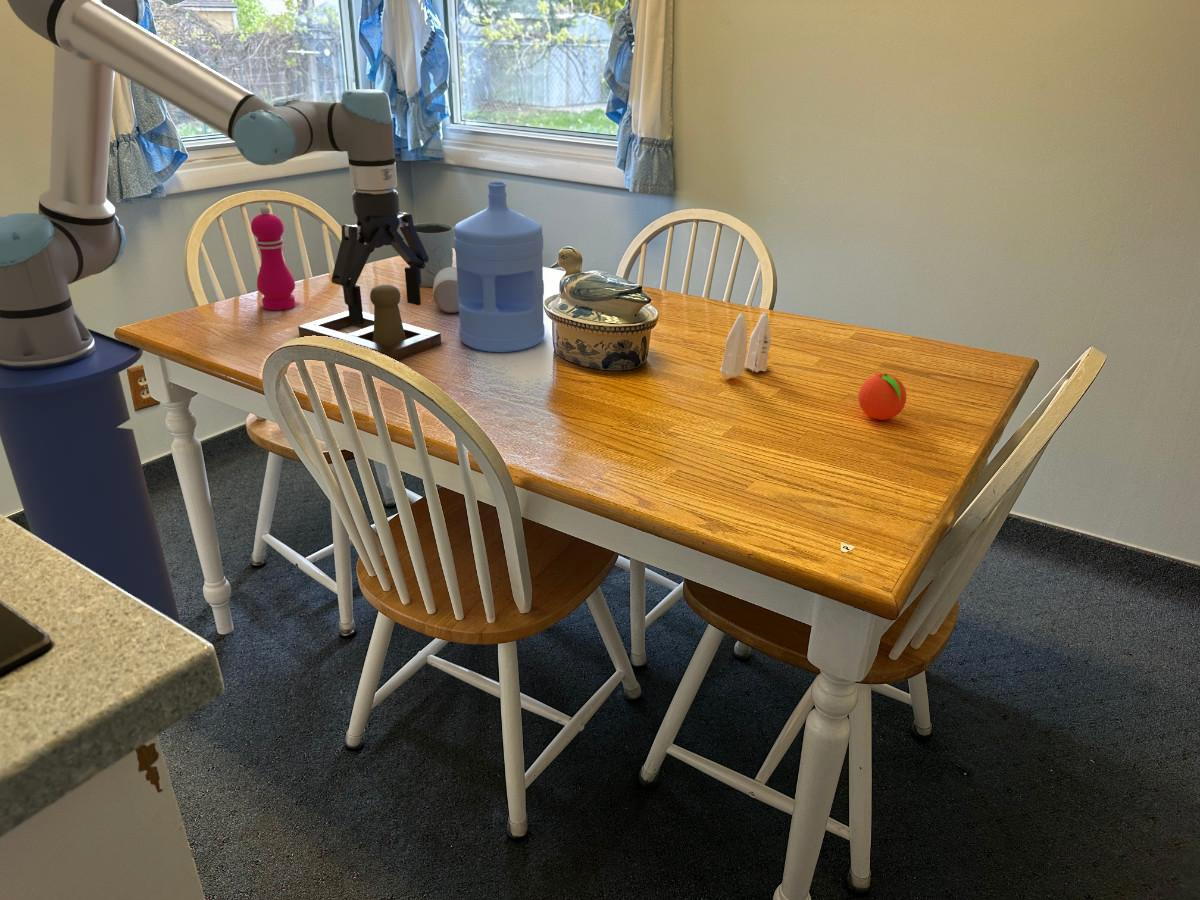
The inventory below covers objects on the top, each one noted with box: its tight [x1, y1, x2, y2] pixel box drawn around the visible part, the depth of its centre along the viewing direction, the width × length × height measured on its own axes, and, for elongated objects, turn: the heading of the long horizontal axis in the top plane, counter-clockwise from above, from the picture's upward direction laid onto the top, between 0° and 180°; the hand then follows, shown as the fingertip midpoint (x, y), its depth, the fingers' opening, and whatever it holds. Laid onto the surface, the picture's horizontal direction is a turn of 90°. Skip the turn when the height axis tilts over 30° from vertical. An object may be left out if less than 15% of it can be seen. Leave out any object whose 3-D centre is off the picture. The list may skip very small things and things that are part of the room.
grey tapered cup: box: [413, 222, 455, 288], centre depth 193 cm, size 10×10×12 cm
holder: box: [297, 310, 442, 361], centre depth 161 cm, size 13×24×2 cm, turn 55°
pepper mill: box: [250, 205, 296, 311], centre depth 174 cm, size 7×7×20 cm
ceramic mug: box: [432, 266, 459, 314], centre depth 177 cm, size 11×8×8 cm
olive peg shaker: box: [369, 284, 406, 346], centre depth 156 cm, size 6×6×11 cm
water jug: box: [453, 181, 546, 353], centre depth 156 cm, size 16×16×28 cm
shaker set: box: [719, 311, 772, 380], centre depth 146 cm, size 12×4×11 cm, turn 134°
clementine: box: [857, 373, 907, 421], centre depth 132 cm, size 8×7×7 cm
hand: (386, 312), depth 156 cm, fingers open, 13 cm apart
